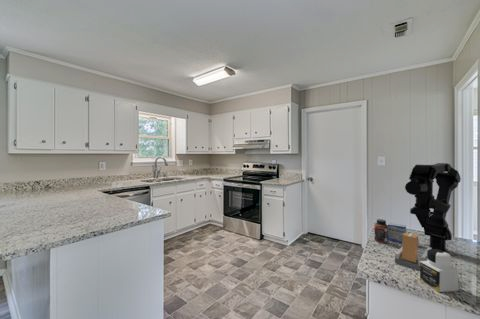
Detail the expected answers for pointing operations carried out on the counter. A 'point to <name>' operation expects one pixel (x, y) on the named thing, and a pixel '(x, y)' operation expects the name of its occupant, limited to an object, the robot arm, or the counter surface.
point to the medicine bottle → (439, 271)
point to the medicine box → (396, 232)
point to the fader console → (421, 257)
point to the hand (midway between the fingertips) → (423, 227)
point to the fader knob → (410, 247)
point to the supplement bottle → (381, 231)
